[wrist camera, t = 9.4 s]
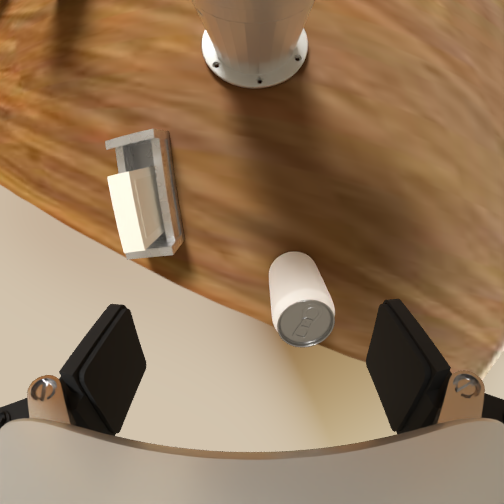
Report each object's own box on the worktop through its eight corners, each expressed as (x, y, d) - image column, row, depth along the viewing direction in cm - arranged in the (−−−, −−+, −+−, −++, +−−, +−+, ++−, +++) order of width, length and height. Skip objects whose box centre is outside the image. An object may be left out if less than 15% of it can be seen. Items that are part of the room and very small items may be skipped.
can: (324, 258, 36) (350, 306, 25) (305, 299, 39) (321, 356, 27) (278, 243, 36) (288, 287, 25) (261, 286, 38) (262, 342, 27)
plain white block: (138, 169, 32) (106, 176, 24) (156, 165, 31) (129, 171, 24) (149, 230, 34) (123, 253, 27) (168, 228, 34) (145, 250, 27)
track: (125, 141, 31) (105, 141, 26) (169, 131, 31) (153, 128, 26) (143, 244, 36) (127, 259, 31) (184, 239, 36) (173, 254, 31)
